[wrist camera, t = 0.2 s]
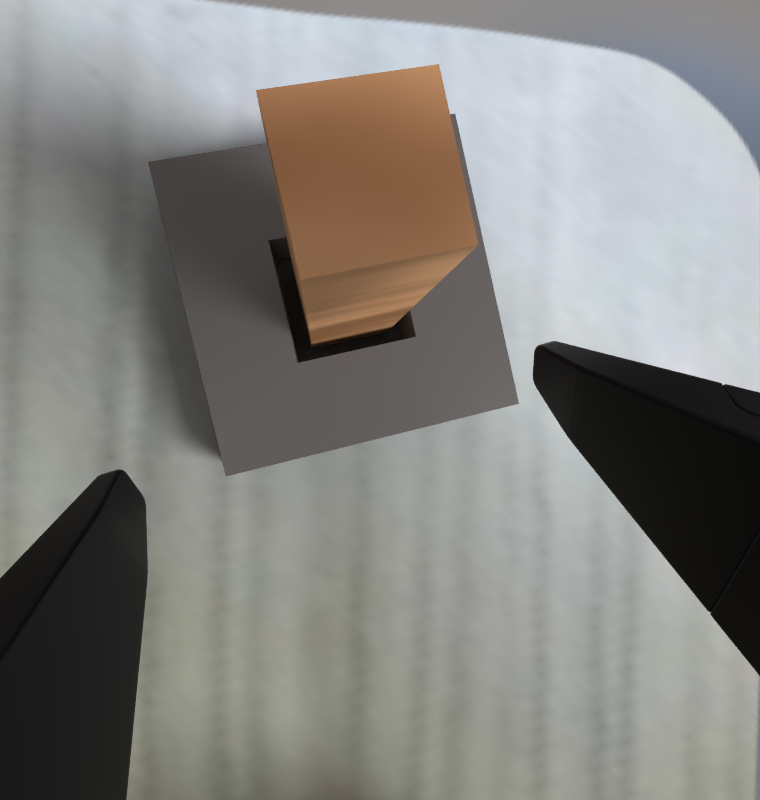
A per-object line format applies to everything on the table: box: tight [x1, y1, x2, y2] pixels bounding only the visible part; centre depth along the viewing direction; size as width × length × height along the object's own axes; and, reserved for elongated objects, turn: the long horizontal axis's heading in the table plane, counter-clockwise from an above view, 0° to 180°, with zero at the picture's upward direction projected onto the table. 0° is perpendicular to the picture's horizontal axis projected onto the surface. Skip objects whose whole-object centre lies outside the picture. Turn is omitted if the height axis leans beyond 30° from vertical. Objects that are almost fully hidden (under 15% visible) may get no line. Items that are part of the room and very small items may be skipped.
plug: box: [256, 64, 478, 349], centre depth 17 cm, size 4×4×14 cm
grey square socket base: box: [148, 114, 519, 476], centre depth 22 cm, size 14×14×3 cm
